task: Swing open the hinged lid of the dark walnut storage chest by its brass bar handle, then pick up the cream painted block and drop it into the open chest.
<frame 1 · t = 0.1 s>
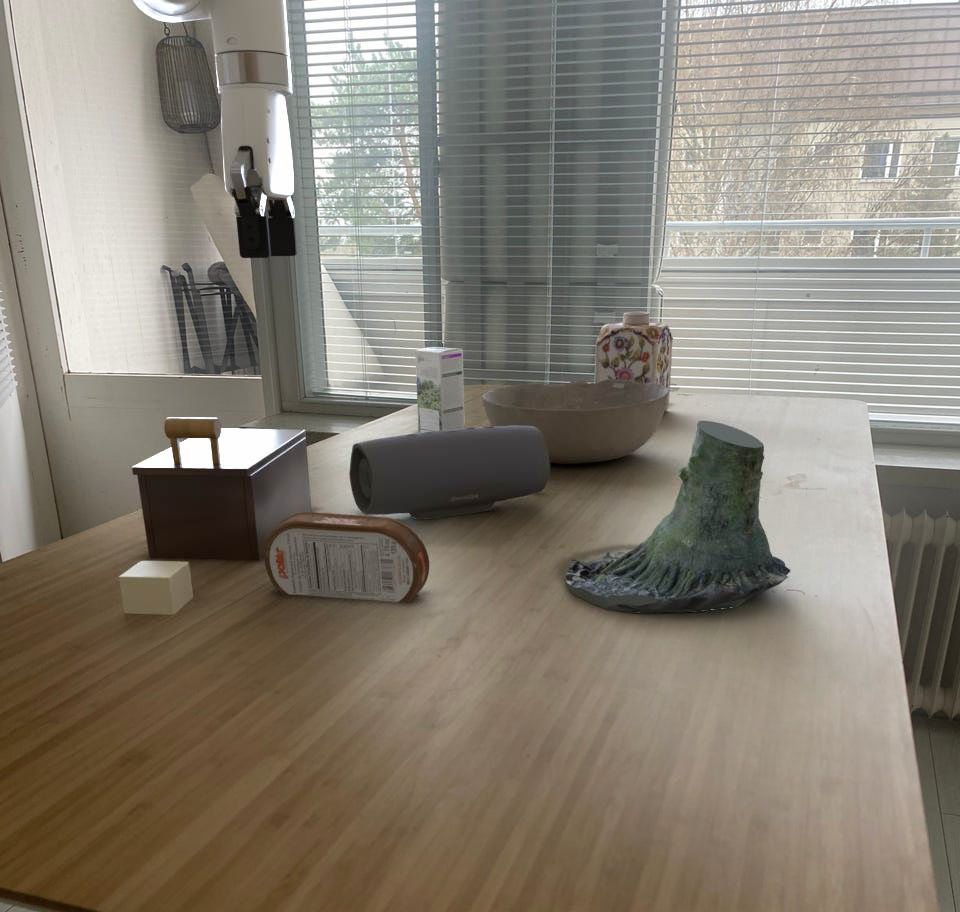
hand: (269, 256, 107), 29 cm above the table, tool pointing down, fingers open, 9 cm apart
syrup box: (441, 440, 162), on the table
chest: (237, 541, 108), on the table
lid: (223, 429, 103), point 12 cm above the table, hinge at 0.0°
decorative jar: (631, 414, 183), on the table
bowl: (573, 457, 148), on the table
bluetooth speaker: (451, 514, 119), on the table
tree stump: (675, 587, 93), on the table
block: (161, 616, 87), on the table
tin: (347, 608, 89), on the table
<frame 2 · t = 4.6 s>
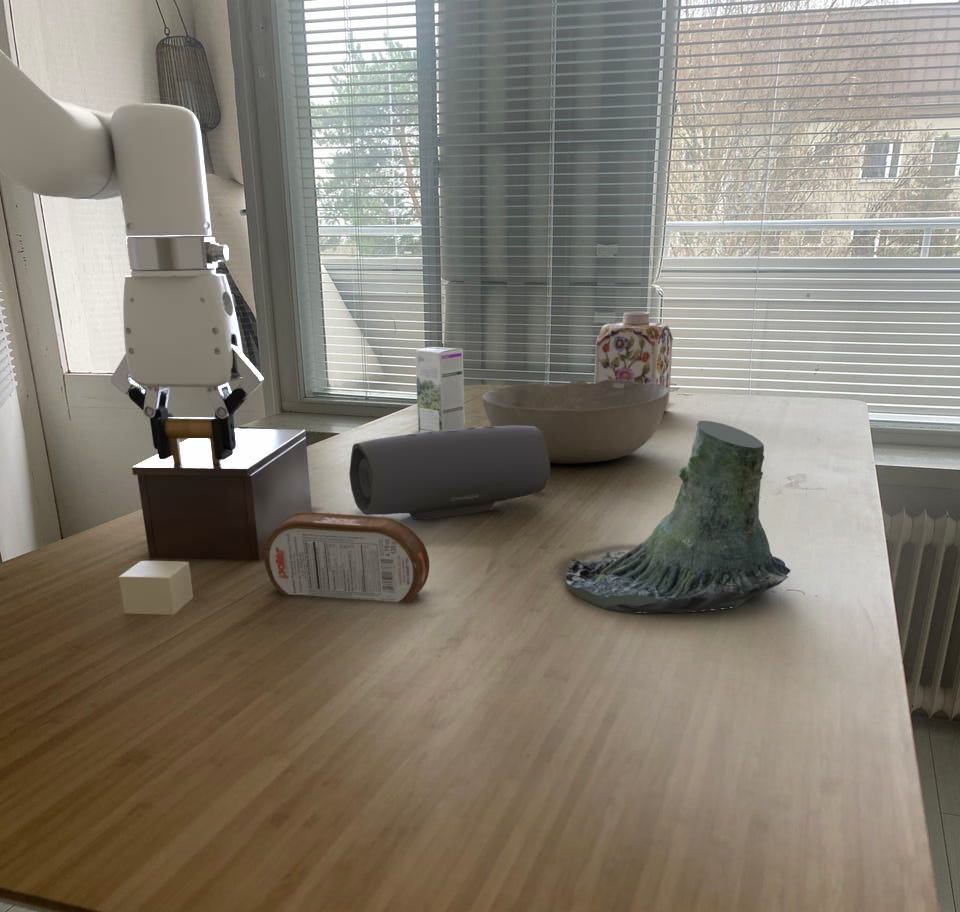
hand: (196, 455, 96), 11 cm above the table, tool pointing down, fingers closed on lid, 5 cm apart
lid: (223, 429, 103), point 12 cm above the table, hinge at 0.0°, touching gripper
everything else where it was.
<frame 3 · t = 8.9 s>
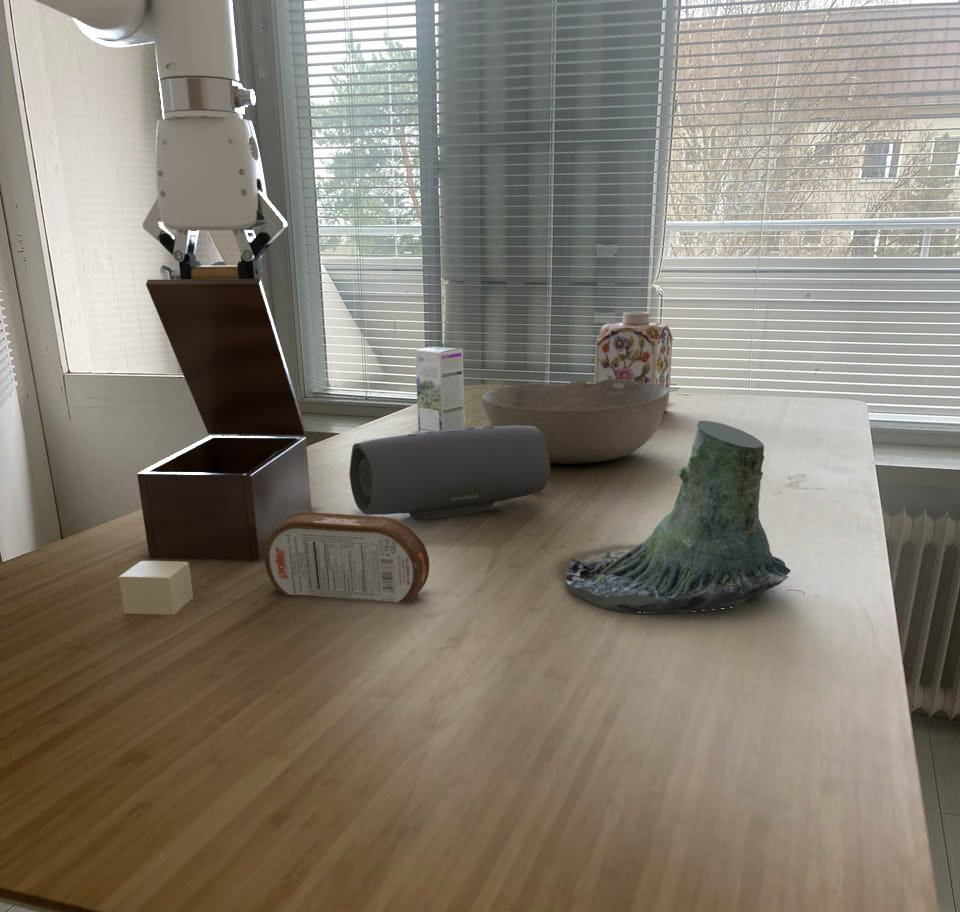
hand: (222, 300, 101), 25 cm above the table, tool pointing down, fingers closed on lid, 5 cm apart
lid: (236, 349, 106), point 20 cm above the table, hinge at 55.8°, touching gripper
everything else where it was.
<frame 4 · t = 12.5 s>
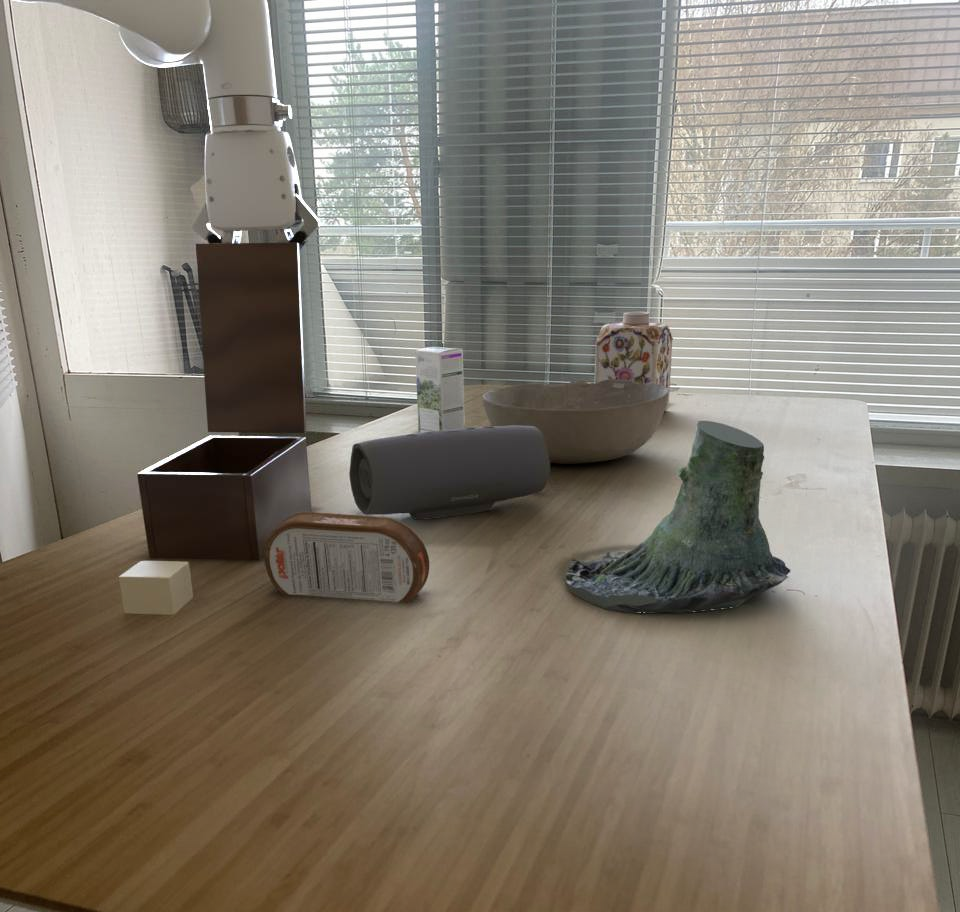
hand: (264, 292, 114), 25 cm above the table, tool pointing down, fingers closed on lid, 5 cm apart
lid: (258, 340, 112), point 20 cm above the table, hinge at 97.7°, touching gripper
everything else where it was.
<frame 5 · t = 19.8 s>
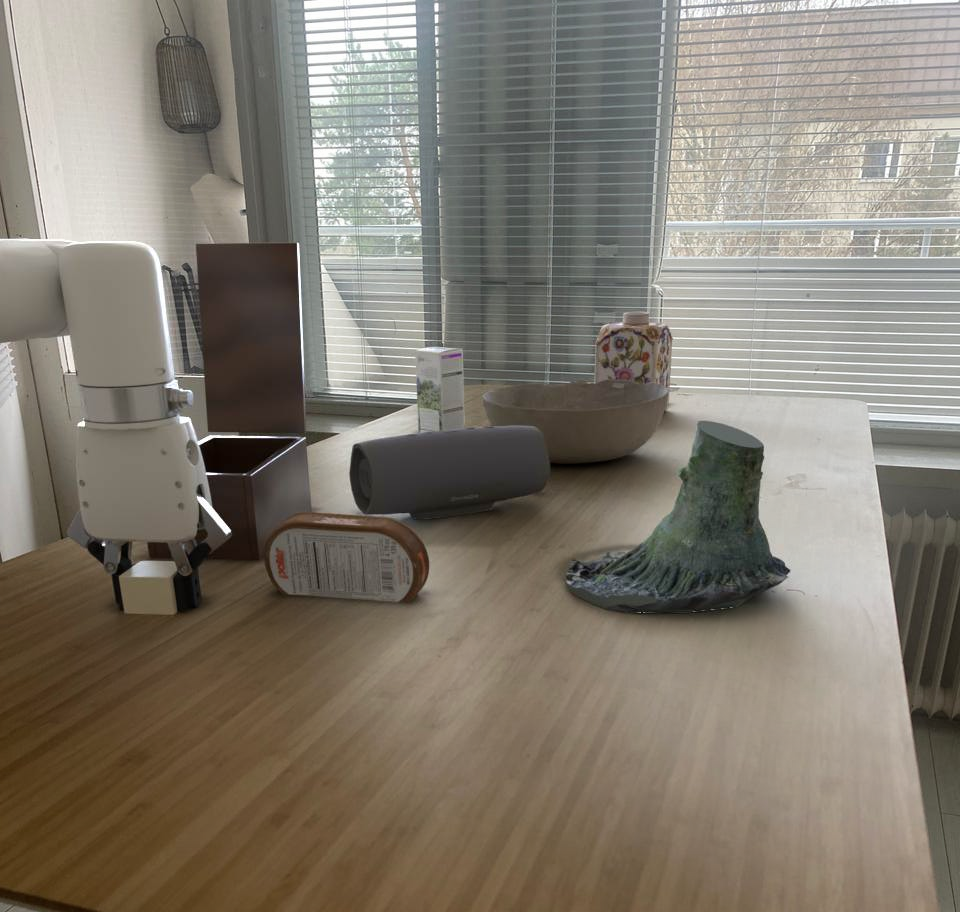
hand: (160, 610, 87), 1 cm above the table, tool pointing down, fingers closed on block, 4 cm apart
lid: (258, 341, 113), point 20 cm above the table, hinge at 97.8°
block: (161, 616, 87), on the table, touching gripper
everything else where it was.
when the fingers open (9 cm above the table, at t = 27.6 s): block drops 7 cm, resting on chest.
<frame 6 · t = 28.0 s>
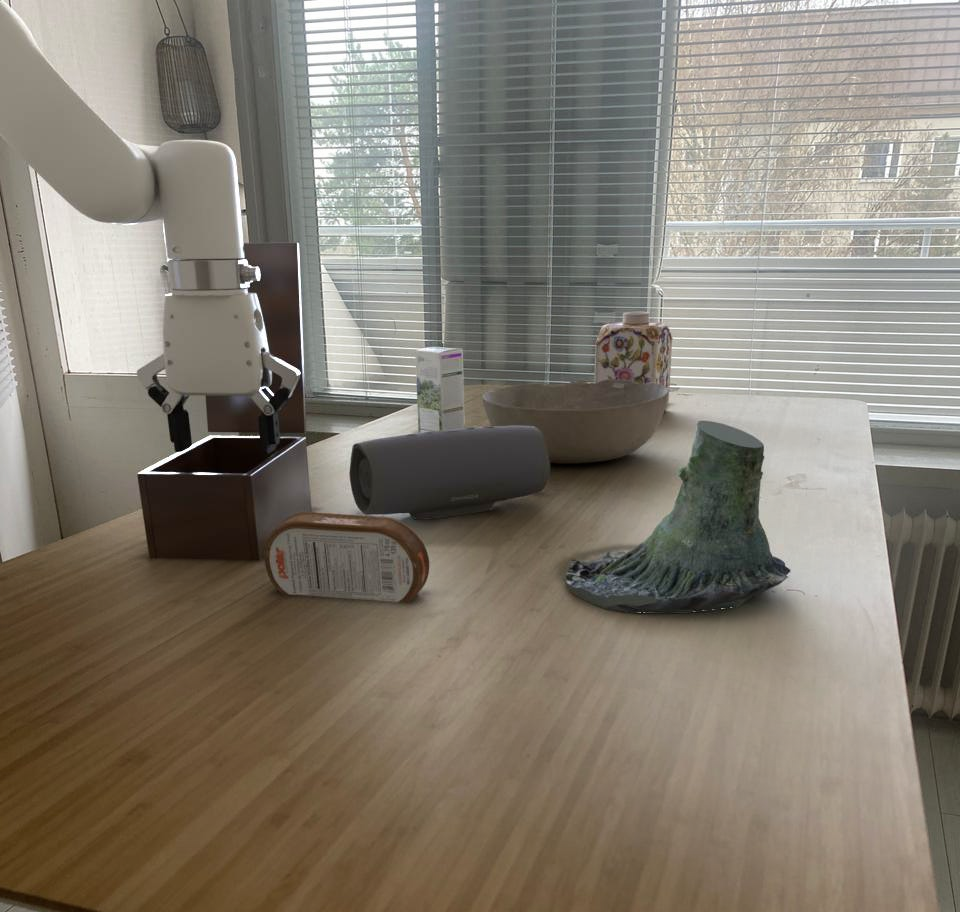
hand: (226, 450, 104), 10 cm above the table, tool pointing down, fingers open, 9 cm apart
block: (236, 534, 108), point 1 cm above the table, touching chest
everything else where it was.
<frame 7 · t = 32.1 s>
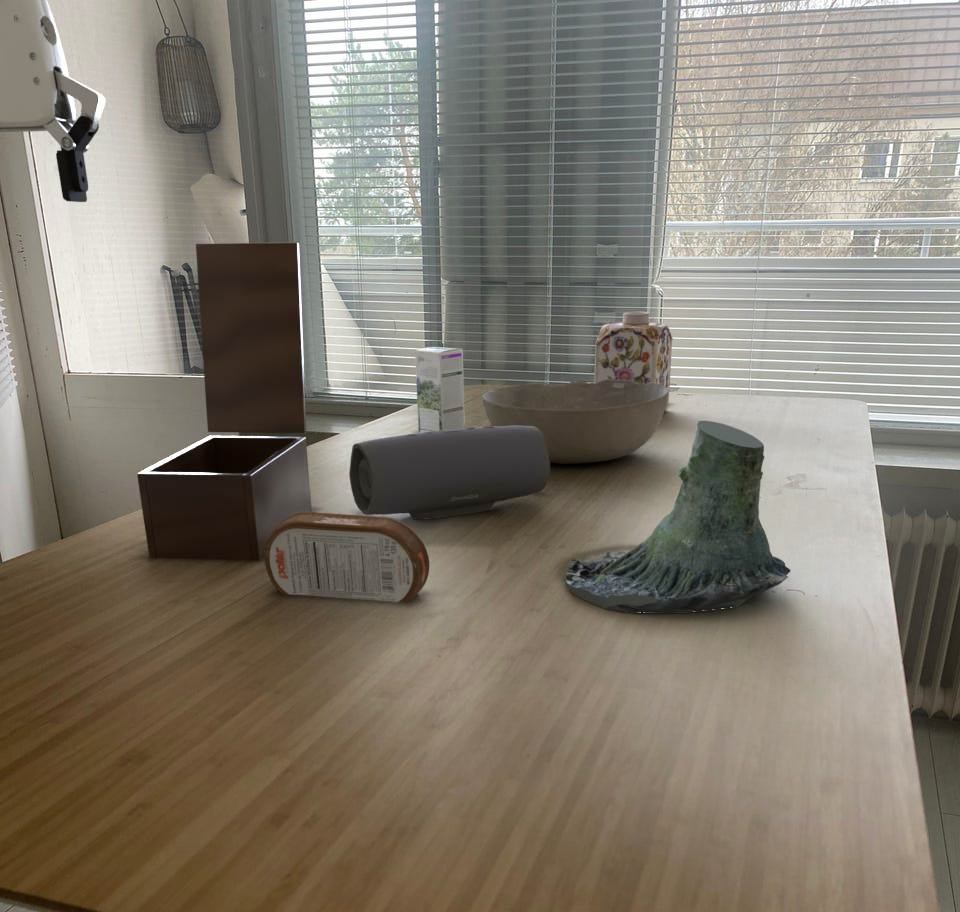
hand: (24, 202, 88), 34 cm above the table, tool pointing down, fingers open, 9 cm apart
nothing on the table moved.
at the end: lid at +98° (first picture: +0°); block inside the target area in the chest (0.1 cm from its centre), point 0.8 cm above the chest's base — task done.
